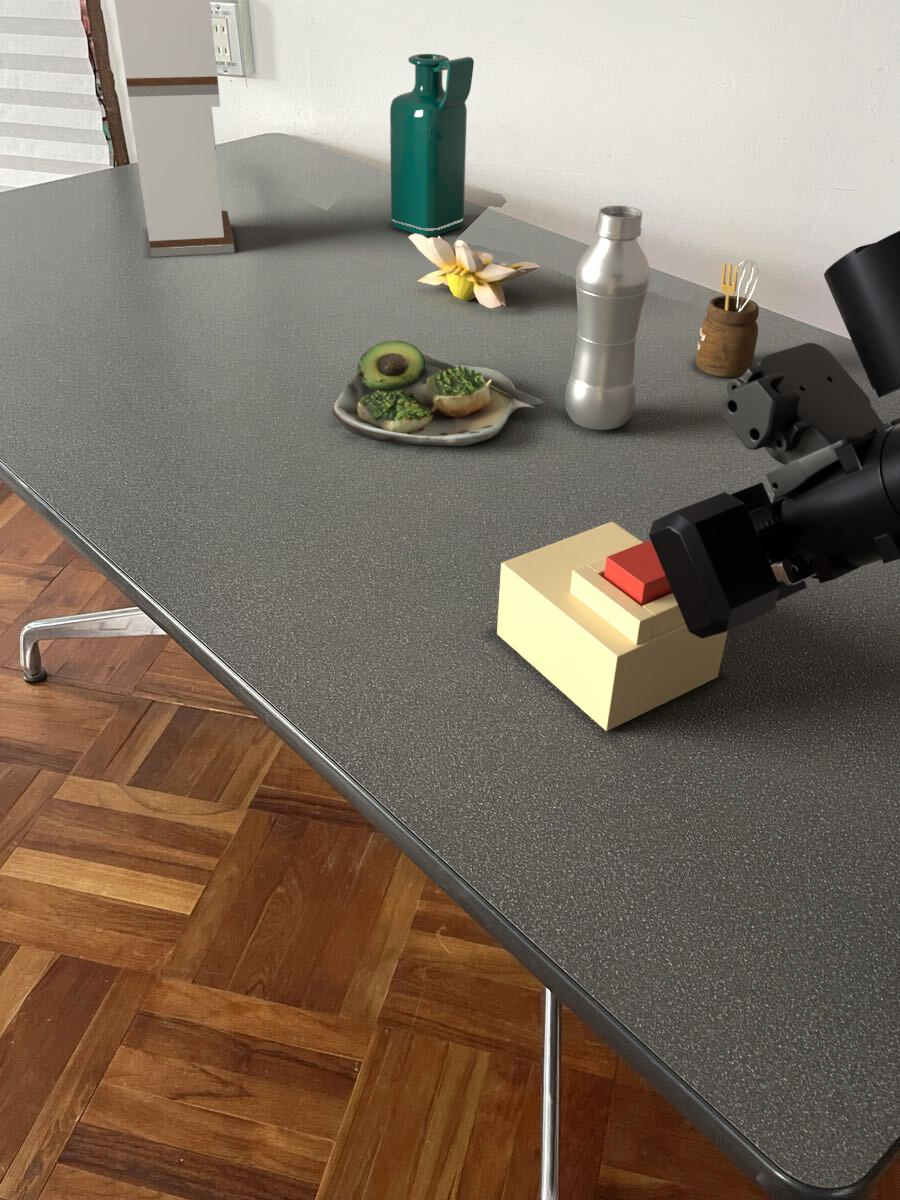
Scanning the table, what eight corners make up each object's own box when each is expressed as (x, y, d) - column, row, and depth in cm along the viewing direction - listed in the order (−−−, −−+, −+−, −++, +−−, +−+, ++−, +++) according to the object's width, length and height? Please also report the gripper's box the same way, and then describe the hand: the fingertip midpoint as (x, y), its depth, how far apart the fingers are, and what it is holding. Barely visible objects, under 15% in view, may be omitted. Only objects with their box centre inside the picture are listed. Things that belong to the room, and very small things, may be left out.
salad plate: (555, 384, 110) (558, 342, 107) (521, 466, 96) (524, 420, 93) (375, 362, 114) (374, 320, 111) (317, 438, 100) (314, 392, 97)
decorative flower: (564, 285, 128) (553, 205, 122) (503, 331, 123) (488, 250, 117) (473, 262, 137) (458, 187, 131) (413, 304, 132) (394, 228, 126)
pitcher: (385, 226, 151) (382, 53, 138) (424, 213, 156) (425, 45, 143) (437, 242, 146) (440, 64, 133) (476, 228, 151) (482, 55, 138)
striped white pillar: (234, 252, 141) (204, -59, 120) (151, 256, 139) (105, -59, 118) (228, 225, 150) (199, -69, 129) (150, 229, 148) (107, -69, 127)
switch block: (718, 677, 73) (739, 582, 68) (606, 731, 69) (620, 633, 64) (603, 590, 81) (615, 499, 76) (496, 634, 77) (502, 540, 72)
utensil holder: (759, 365, 115) (781, 253, 108) (736, 385, 111) (758, 270, 104) (707, 351, 118) (726, 242, 111) (684, 370, 114) (702, 258, 107)
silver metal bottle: (636, 439, 101) (666, 224, 89) (565, 437, 101) (585, 222, 89) (627, 408, 106) (654, 201, 94) (559, 407, 106) (577, 199, 94)
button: (683, 589, 68) (687, 566, 67) (640, 607, 67) (644, 584, 66) (644, 562, 71) (648, 540, 70) (603, 579, 69) (606, 556, 68)
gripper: (979, 281, 53) (768, 399, 67) (711, 361, 45) (532, 477, 59) (1069, 486, 53) (838, 563, 67) (815, 607, 44) (610, 666, 58)
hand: (711, 562), depth 63 cm, fingers closed
